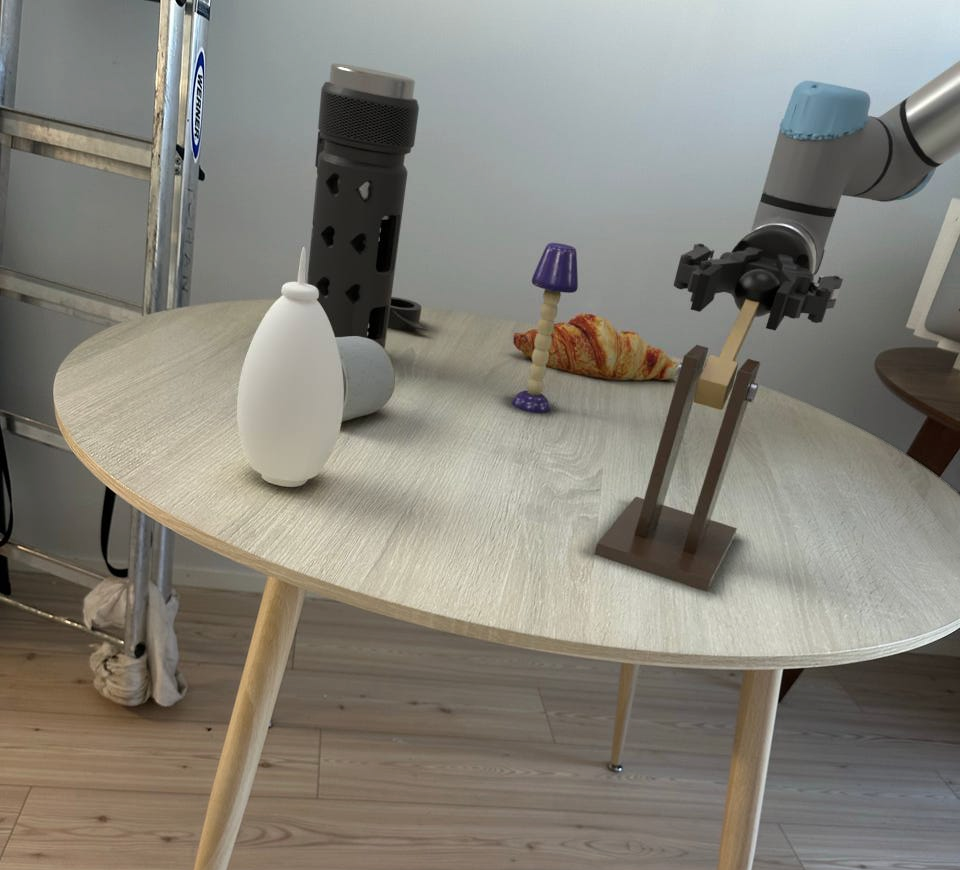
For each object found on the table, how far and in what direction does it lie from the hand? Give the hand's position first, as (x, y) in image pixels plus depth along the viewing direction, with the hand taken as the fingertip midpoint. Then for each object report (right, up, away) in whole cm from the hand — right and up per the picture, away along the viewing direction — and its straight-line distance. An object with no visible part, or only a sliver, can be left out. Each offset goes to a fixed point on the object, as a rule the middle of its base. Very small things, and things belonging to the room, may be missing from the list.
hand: (737, 301), depth 77 cm
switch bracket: (-4, -18, +6) cm, 20 cm away
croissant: (-5, +7, +49) cm, 50 cm away
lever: (0, -3, +3) cm, 4 cm away
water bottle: (-35, +5, +35) cm, 50 cm away
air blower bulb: (-35, -13, +4) cm, 38 cm away
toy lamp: (-14, -1, +32) cm, 35 cm away
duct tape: (-30, +13, +51) cm, 61 cm away
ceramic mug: (-34, -4, +19) cm, 39 cm away
